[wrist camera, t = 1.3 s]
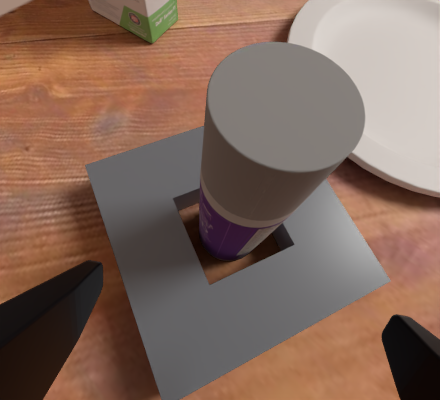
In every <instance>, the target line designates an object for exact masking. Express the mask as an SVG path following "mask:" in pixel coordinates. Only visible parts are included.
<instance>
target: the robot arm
mask: <svg viewBox="0 0 440 400" xmlns="http://www.w3.org/2000/svg"><path fill="white" fill-rule="evenodd" d="M102 287H103V265H102V263H101V262H97V261H91V260H88V261H85V262H83V263H81V264H79V265H77V266H75V267H73V268H71V269H69V270H67V271H65V272H63V273H61V274H59V275H57V276H56V277H54V278H52V279H50V280H48V281H46V282H44V283H42V284H40V285H38V286H36V287H34V288H32V289H30V290H28V291H26V292H24V293H22V294H20V295H18V296H16V297H14V298H12V299H10V300H8V301H6V302H4V303H2V304H0V400H43V398H44V397H45V395H46V393H47V392H48V390H49V388H50V387H51V385H52V383H53V382H54V380H55V378H56V377H57V375H58V373H59V372H60V370H61V368H62V367H63V365H64V363H65V362H66V360H67V358H68V357H69V355H70V353H71V352H72V350H73V348H74V346H75V345H76V343H77V341H78V339H79V337H80V335H81V333H82V331H83V329H84V327H85V325H86V323H87V320H88V318H89V316H90V314H91V312H92V310H93V308H94V305H95V303H96V301H97V299H98V297H99V295H100V293H101V290H102ZM382 342H383V346H384V349H385V352H386V355H387V359H388V362H389V365H390V369H391V372H392V375H393V378H394V382H395V385H396V388H397V391H398V394H399V397H400V400H440V339H438V338H437V337H436V336H434V335H433V334H432V333H430V332H429V331H428V330H426V329H425V328H424V327H422V326H421V325H420V324H418V323H417V322H416V321H414V320H413V319H412V318H410V317H408V316H403V315H397V314H396V315H393V316H392V317H391V319H390V320H389V322H388V324H387V325H386V327H385V328H384V330H383V332H382Z"/></svg>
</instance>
